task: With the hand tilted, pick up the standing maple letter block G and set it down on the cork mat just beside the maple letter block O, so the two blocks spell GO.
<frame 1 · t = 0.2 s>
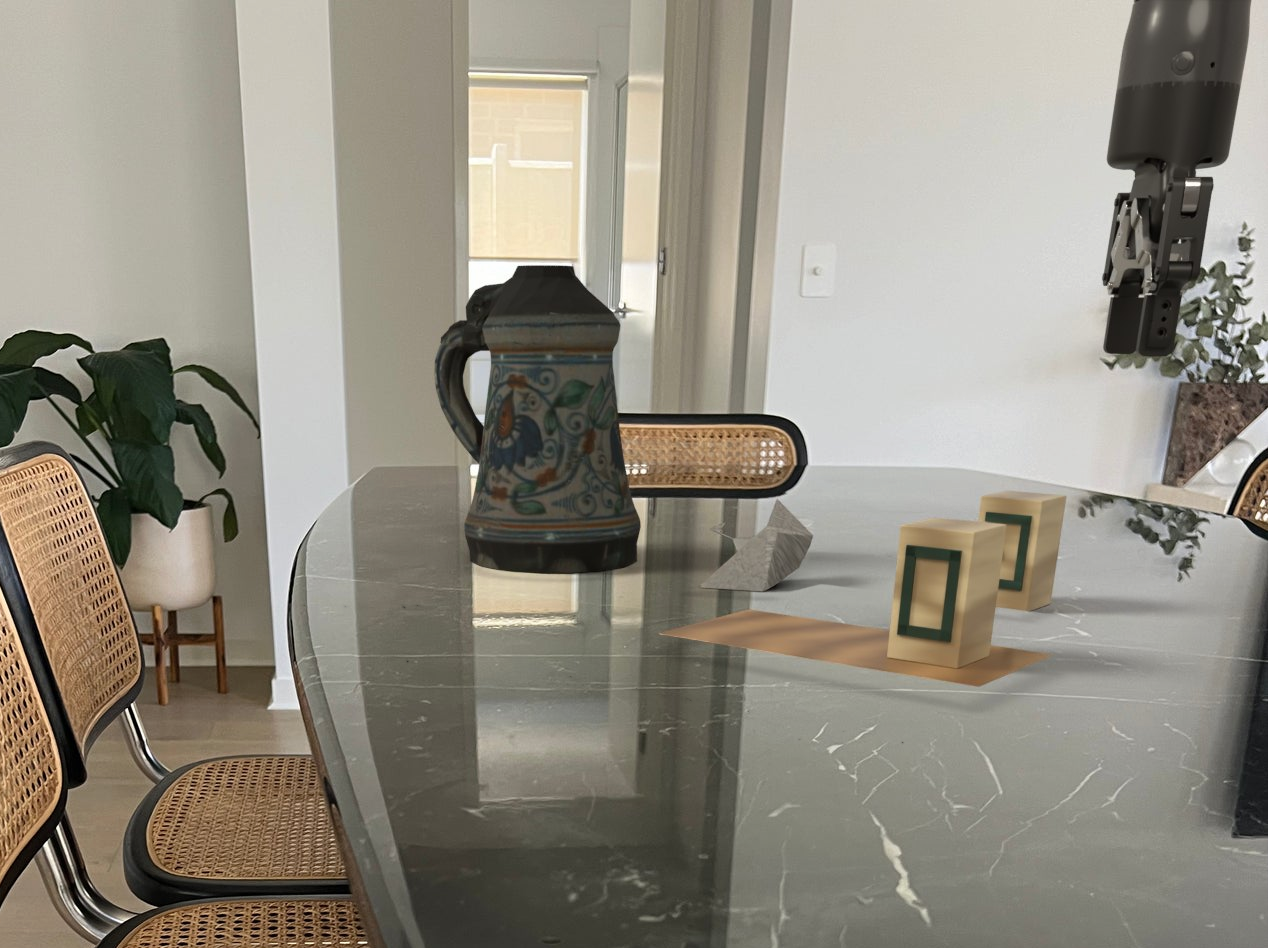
hand: (1135, 355, 101), 19 cm above the table, tool pointing down, fingers open, 8 cm apart
letter O: (938, 657, 97), point 1 cm above the table, touching word mat
letter G: (1009, 604, 119), on the table
beer stein: (536, 561, 138), on the table
paper boat: (755, 584, 128), on the table
word mat: (849, 654, 101), on the table
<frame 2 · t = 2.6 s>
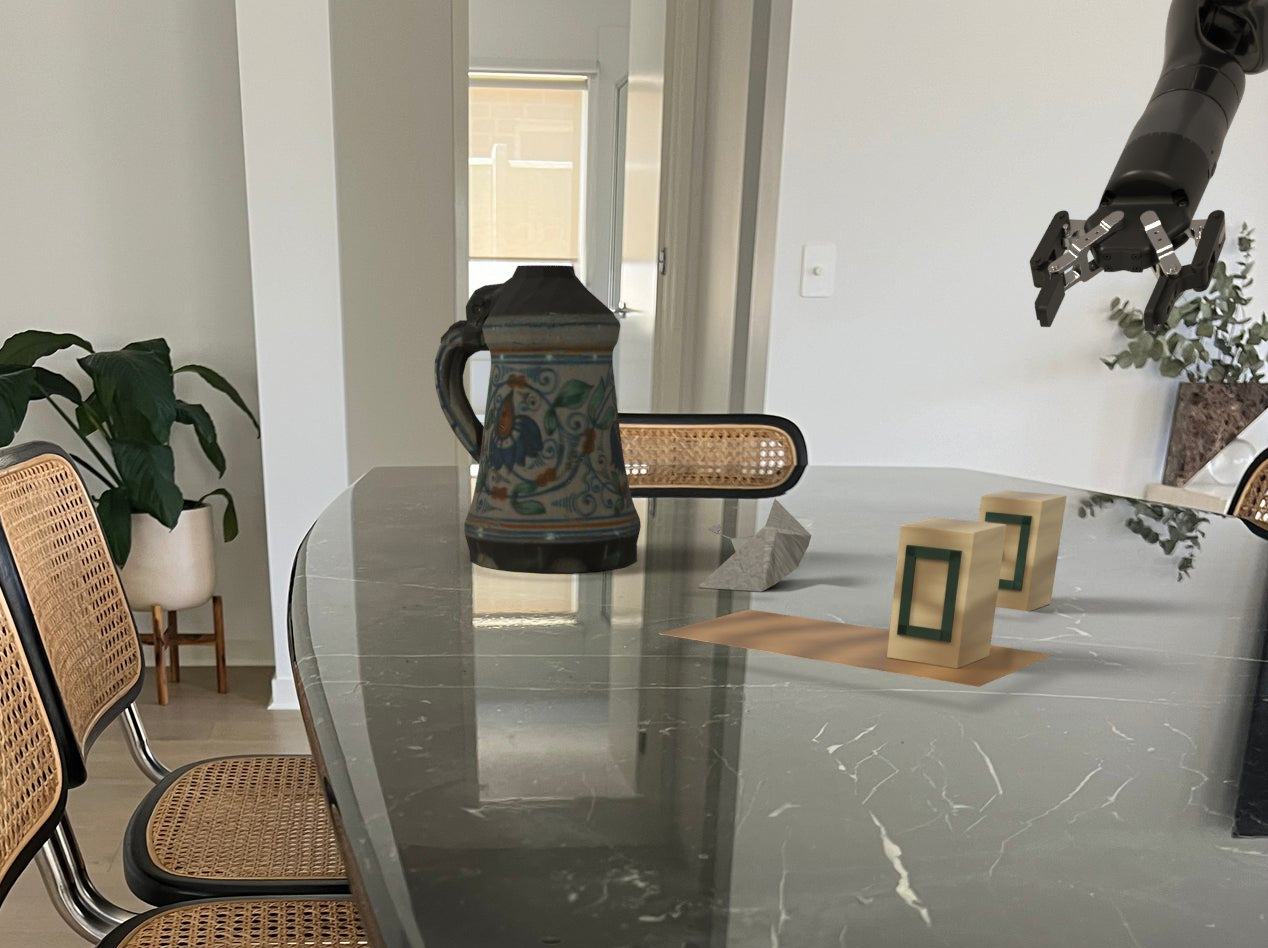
hand: (1095, 321, 118), 21 cm above the table, tool tilted 45°, fingers open, 8 cm apart
nothing on the table moved.
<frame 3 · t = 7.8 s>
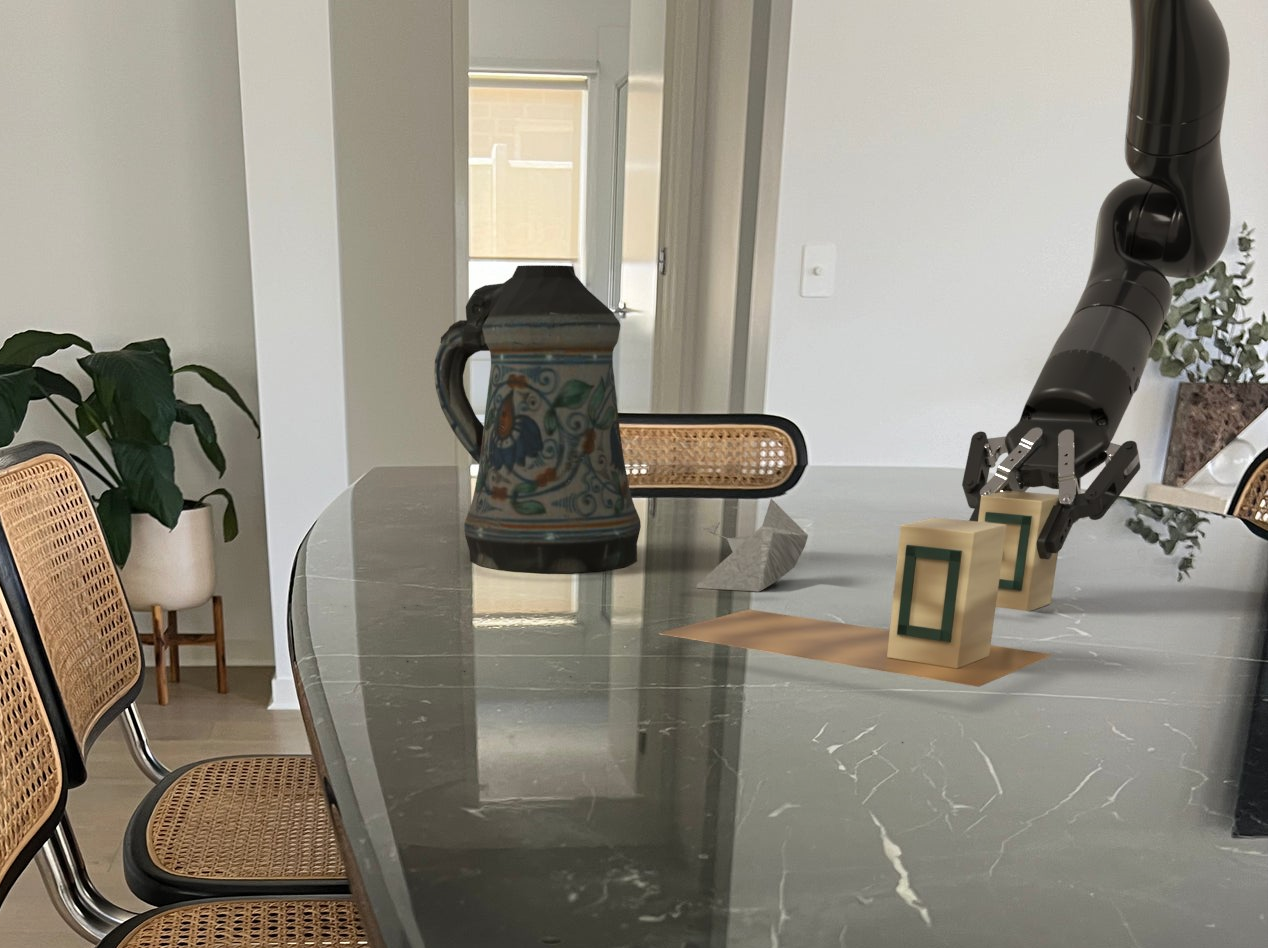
hand: (1008, 548, 116), 5 cm above the table, tool tilted 45°, fingers closed on letter G, 5 cm apart
letter G: (1009, 604, 119), on the table, touching gripper
everything else where it was.
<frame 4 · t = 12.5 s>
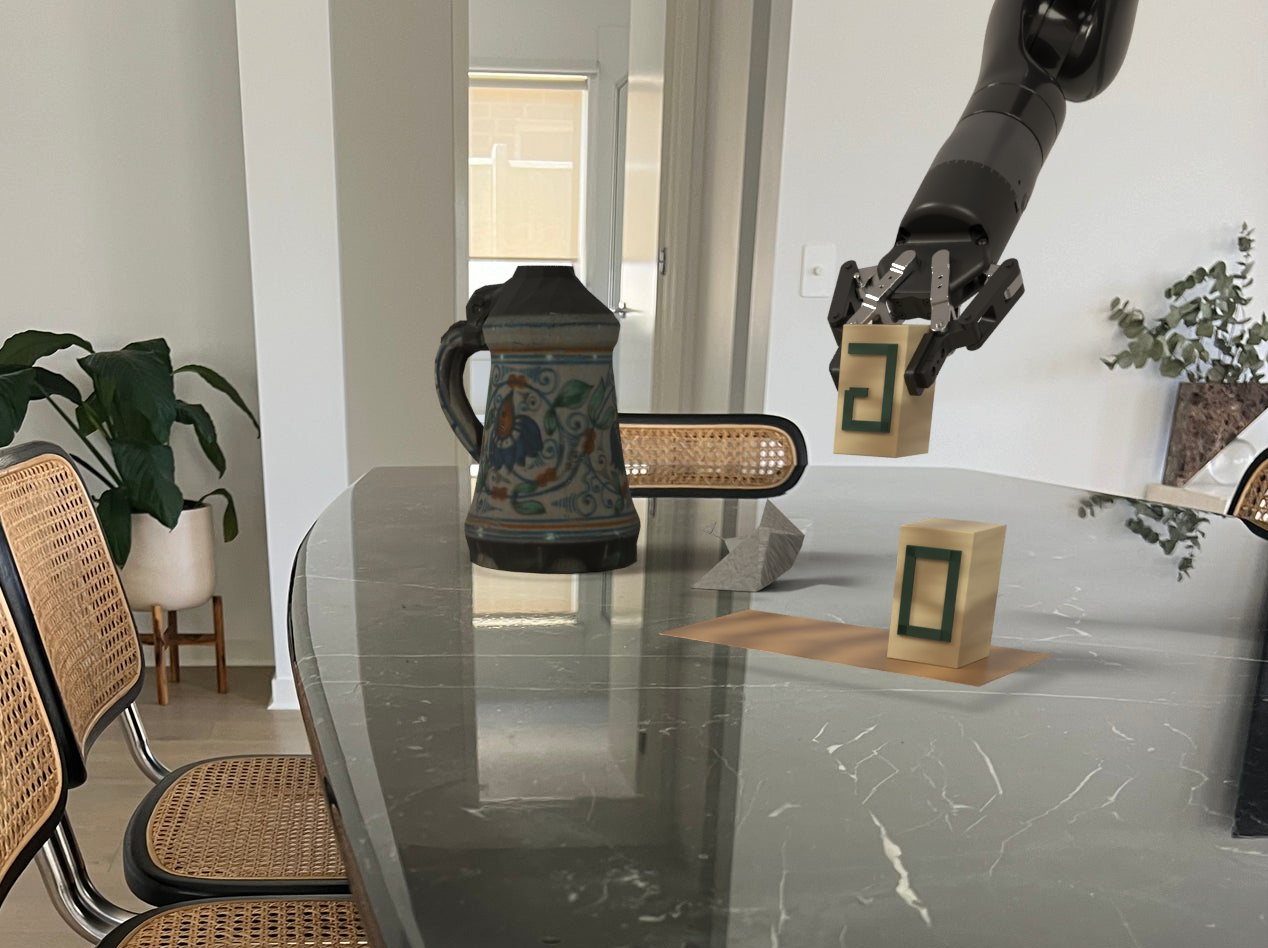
hand: (875, 384, 102), 17 cm above the table, tool tilted 45°, fingers closed on letter G, 5 cm apart
letter G: (880, 453, 105), point 12 cm above the table, touching gripper
everything else where it was.
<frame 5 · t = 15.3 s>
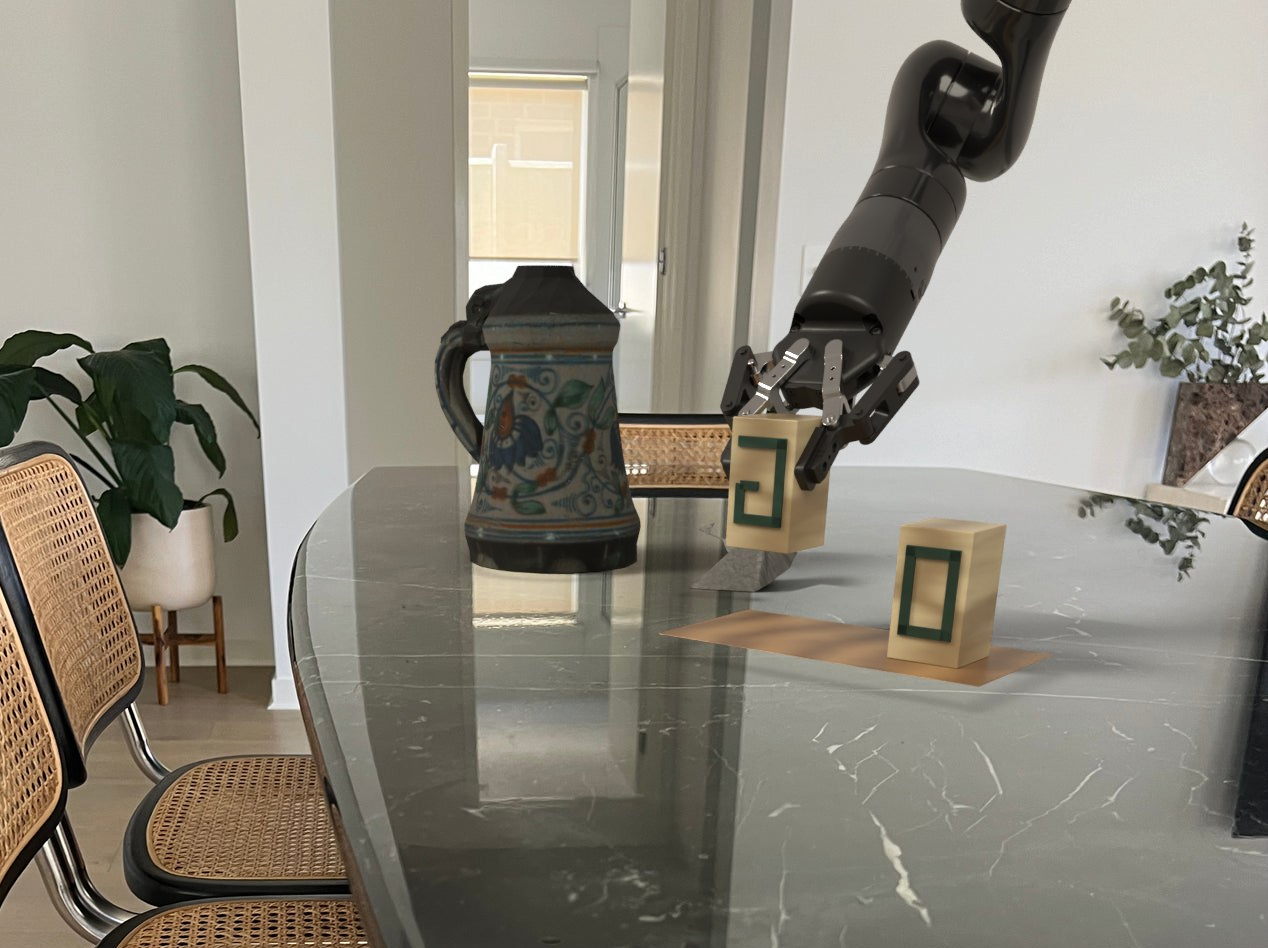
hand: (766, 478, 99), 11 cm above the table, tool tilted 45°, fingers closed on letter G, 5 cm apart
letter G: (774, 546, 102), point 7 cm above the table, touching gripper
everything else where it was.
when the fingers open (5 cm above the table, at t = 17.5 s): letter G stays where it is, resting on word mat.
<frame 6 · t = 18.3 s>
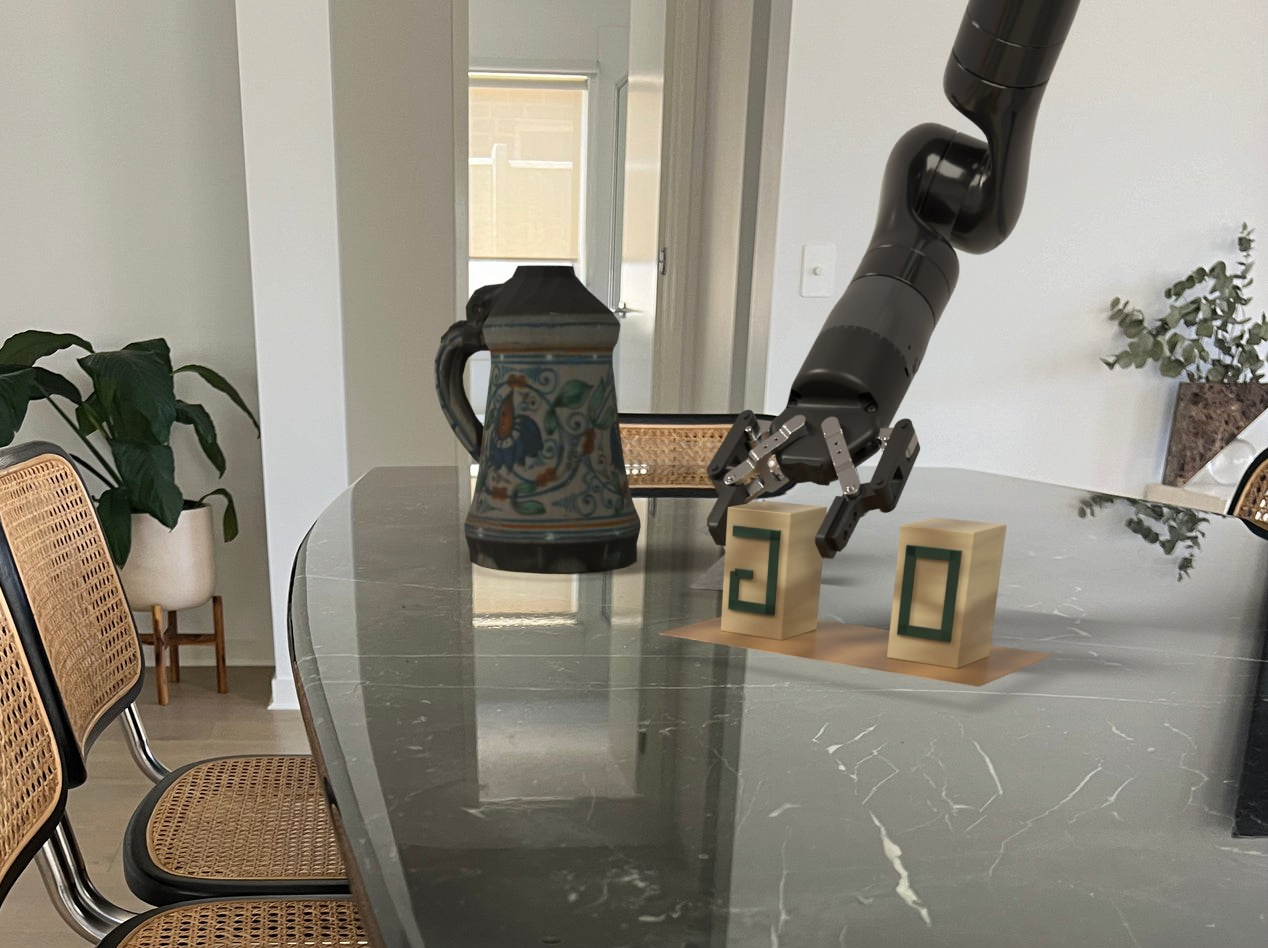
hand: (768, 544, 101), 7 cm above the table, tool tilted 45°, fingers open, 8 cm apart
letter G: (768, 630, 104), point 1 cm above the table, touching word mat
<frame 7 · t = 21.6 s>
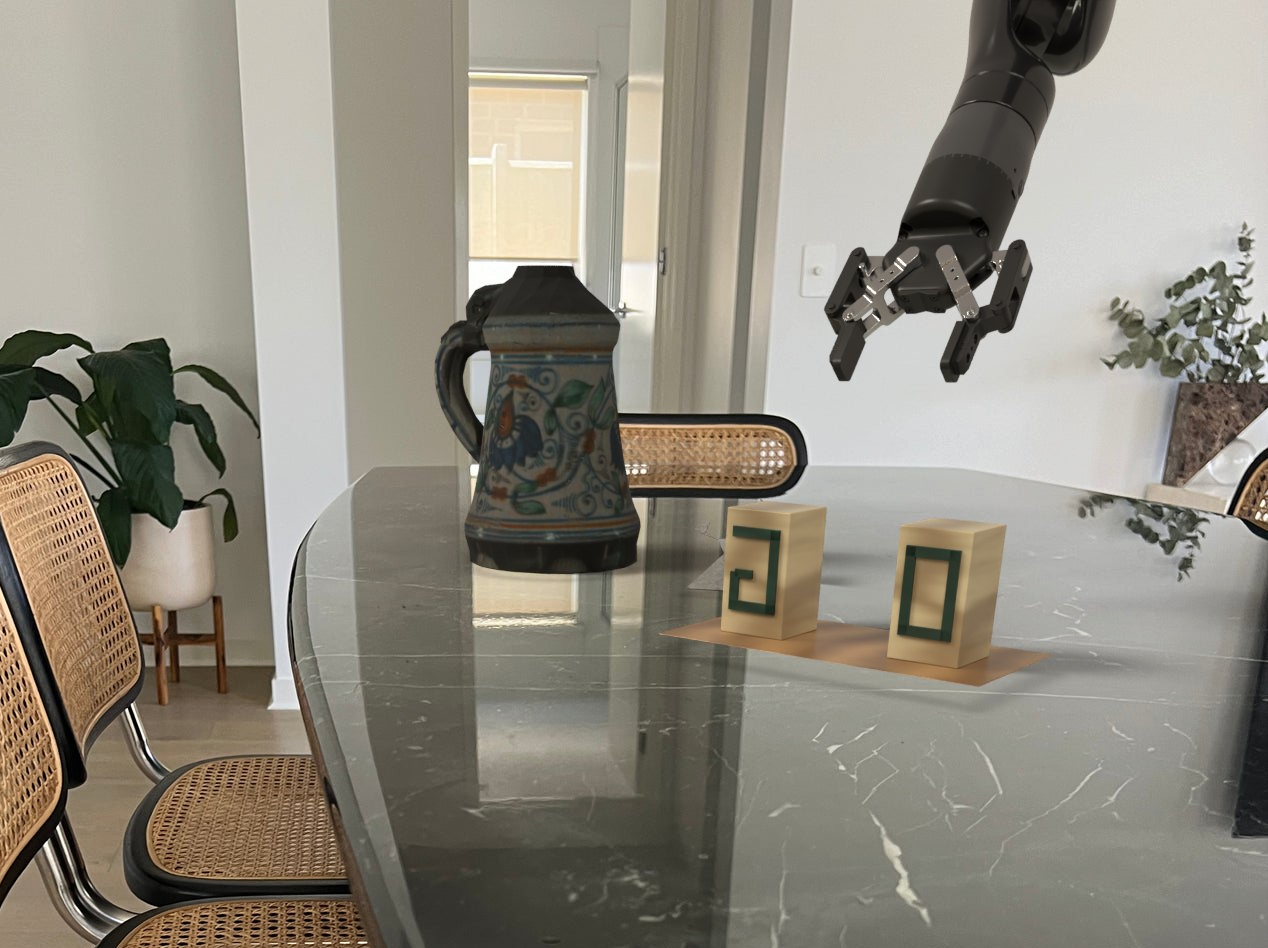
hand: (892, 375, 106), 17 cm above the table, tool tilted 40°, fingers open, 8 cm apart
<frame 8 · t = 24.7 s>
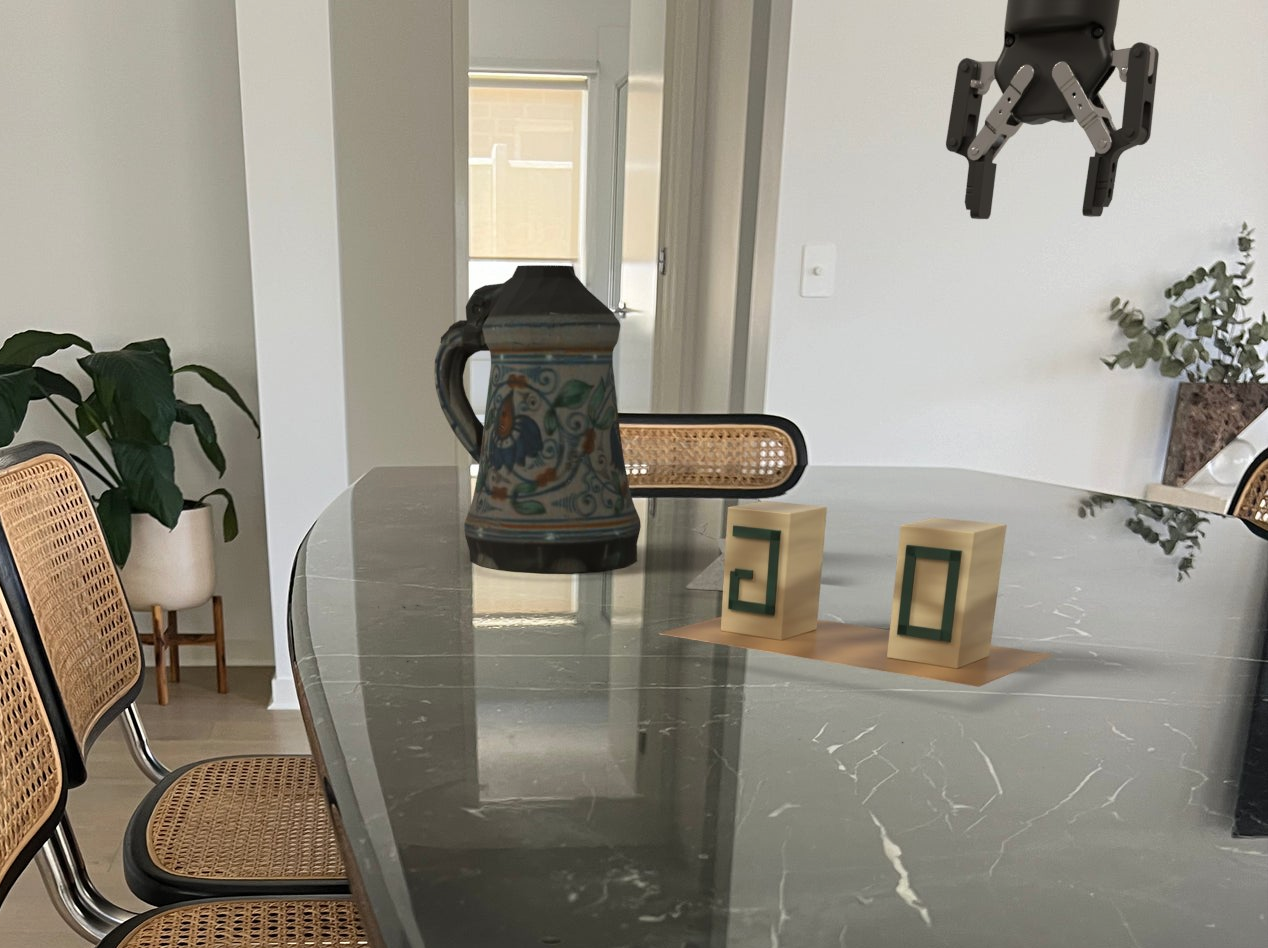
hand: (1034, 217, 108), 28 cm above the table, tool pointing down, fingers open, 8 cm apart
at the end: letter G 0.1 cm from the target spot on the table beside the letter O, resting on word mat; letter G tilted 0°; letter O moved 0.0 cm from its start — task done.
